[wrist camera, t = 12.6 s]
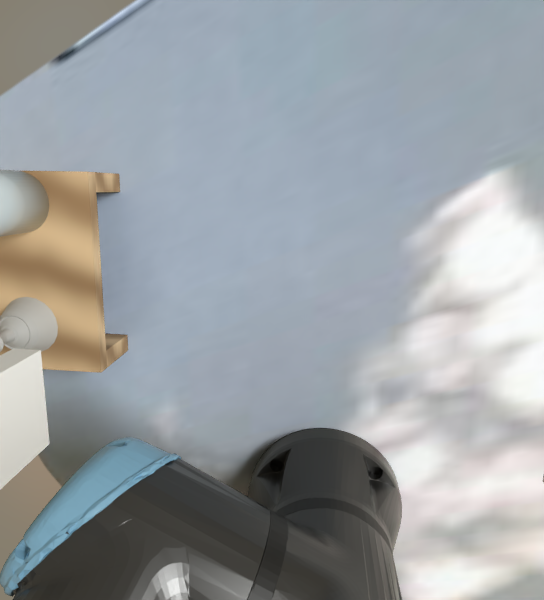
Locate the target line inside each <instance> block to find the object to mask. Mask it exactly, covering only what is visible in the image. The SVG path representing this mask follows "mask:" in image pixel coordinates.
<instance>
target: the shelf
mask: <svg viewBox="0 0 544 600" xmlns="http://www.w3.org/2000/svg"><path fill="white" fill-rule="evenodd" d="M23 172H26V173H29V174H31V175H32V176H34V177H35V178H36V179H38V180H39V181H40V183H41V184H42V185H43V187H44V188H45V190H46V192H47V195H48V199H49V212H48V216H47V218H46V220H45V222H44V223H43V225H42V226H40V227H39V228H38V229H36V230H35V231H32V232H28V233H22V234H15V235H8V236H2V237H0V316H1V315H2V313H3V312H4V310H5V309H6V307H7V306H8V305H9V304H10V302H11V301H13V300H15V299H17V298H21V297H31V298H35V299H38V300H39V301H41V302H43V303H45V304H46V305H47V306H48V307H49V308H50V309H51V311H52V312H53V314H54V316H55V318H56V321H57V325H58V332H57V337H56V339H55V342H54V343H53V344H52V345H51V347H50V348H49V349H46V350H44V351H42V352H41V358H42V368H43V369H51V370H68V371H84V372H102V371H104V370H105V369H106V368H107V367H108V366H110V365H111V364H112V363H113V362H114V361H116V360H117V359H118V358H119V357H121V356H122V355H123V354H124V353H125V352H127V351H128V339H127V335H120V334H105V325H104V309H103V293H102V277H101V260H100V244H99V228H98V212H97V196H96V192H120V182H119V174H112V173H97V172H66V171H23ZM10 350H11V349H9V348H7V347H6V346H5V345H4V347H3V349H2V351H1V352H0V355H2V354H4V353H6V352H8V351H10Z"/></svg>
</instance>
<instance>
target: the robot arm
mask: <svg viewBox="0 0 544 600" xmlns="http://www.w3.org/2000/svg"><path fill="white" fill-rule="evenodd" d="M49 444H50V442H49V432H48V421H47V411H46V400H45V389H44V379H43V368H42V358H41V350H32V349H12V350H10V351H8V352H6V353H4V354H2V355H0V490H1V489H2V488H3V487H4V486H5V485H6V484H7V483H8V482H9V481H10V480H11V479H12V478H13V477H14V476H15V475H17V474H18V473H19V472H20V471H21V470H22V469H23V468H24V467H25V466H26V465H27V464H28V463H30V462H31V461H32V460H33V459H34V458H35V457H36V456H37V455H38V454H39V453H40V452H41V451H42V450H44V449H45V448H46V447H47V446H48V445H49ZM543 482H544V476H543ZM401 518H402V502H401V496H400V492H399V488H398V483H397V480H396V477H395V474H394V472H393V470H392V468H391V466H390V465H389V463H388V462H387V460H386V459H385V458H384V456H383V455H382V454H381V453H380V452H379V451H378V450H377V449H376V448H375V447H373V446H372V445H371V444H369V443H368V442H366V441H365V440H363V439H361V438H359V437H357V436H355V435H353V434H350V433H347V432H344V431H340V430H334V429H324V428H318V429H308V430H303V431H299V432H296V433H293V434H290V435H288V436H286V437H284V438H282V439H280V440H279V441H277V442H276V443H274V444H273V445H272V446H271V447H270V448H269V449H268V450H267V451H266V452H265V453H264V454H263V455H262V457H261V458H260V460H259V461H258V463H257V465H256V467H255V469H254V472H253V475H252V479H251V483H250V487H249V491H248V496H246V495H244V494H242V493H240V492H239V491H237V490H235V489H233V488H231V487H229V486H228V485H226V484H224V483H222V482H220V481H218V480H217V479H215V478H213V477H211V476H209V475H208V474H206V473H204V472H202V471H200V470H198V469H197V468H195V467H193V466H191V465H190V464H188V463H186V462H184V461H183V460H181V457H180V456H179V455H177V454H169V453H167V452H165V451H163V450H161V449H159V448H157V447H155V446H152V445H150V444H148V443H146V442H144V441H142V440H140V439H137V438H132V437H126V438H120V439H117V440H115V441H113V442H111V443H109V444H107V445H106V446H104V447H103V448H102V449H100V450H99V451H98V452H97V453H95V454H94V455H93V456H92V457H91V458H90V459H89V460H88V461H87V462H86V463H84V464H83V465H82V466H81V467H80V468H79V469H78V470H77V472H76V473H75V474H74V475H73V476H72V477H71V478H70V479H69V480H68V481H67V482H66V483H65V484H64V485H63V487H62V488H61V489H60V490H59V491H58V492H57V493H56V495H55V496H54V497H53V498H52V499H51V501H50V502H49V503H48V504H47V505H46V506H45V508H44V509H43V510H42V512H41V513H40V514H39V515H38V516H37V518H36V519H35V520H34V522H33V523H32V524H31V526H30V527H29V528H28V530H27V531H26V532H25V534H24V539H22V540H21V541H20V543H19V544H18V545H17V547H16V548H15V549H14V551H13V552H12V553H11V554H10V556H9V557H8V559H7V561H6V562H5V564H4V566H3V569H2V571H1V573H0V584H1V585H2V587H3V588H4V591H5V593H6V594H7V595H10V596H13V595H14V594H15V596H14V599H13V600H402V597H401V592H400V587H399V582H398V578H397V573H396V568H395V563H394V559H393V550H394V546H395V543H396V539H397V535H398V532H399V528H400V524H401Z"/></svg>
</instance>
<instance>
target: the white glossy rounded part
mask: <svg viewBox="0 0 544 600" xmlns="http://www.w3.org/2000/svg"><path fill="white" fill-rule="evenodd" d="M48 212H49V199H48V195H47V192H46V190H45V188H44V187H43V185H42V184H41V183H40V181H39V180H38V179H36V178H35V177H34V176H32V175H31V174H29V173H26V172H23V171H14V170H0V237H2V236H8V235H15V234H22V233H28V232H32V231H35V230H36V229H38V228H39V227H40V226H42V225H43V223H44V222H45V220H46V218H47V216H48Z"/></svg>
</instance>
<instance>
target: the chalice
mask: <svg viewBox="0 0 544 600" xmlns="http://www.w3.org/2000/svg"><path fill="white" fill-rule="evenodd" d="M57 332H58V325H57V321H56V318H55V316H54V314H53V312H52V311H51V309H50V308H49V307H48V306H47V305H46V304H45V303H43V302H41V301H39V300H38V299H35V298H31V297H21V298H17V299H15V300H13V301H11V302H10V304H9V305H8V306H7V307H6V309H5V310H4V312H3V313H2V315H1V316H0V352H1V351H2V349H3V347H4V345H5V346H6V347H7V348H9V349H11V350H12V349H32V350H41V352H42V351H44V350H46V349H49V348H50V347H51V345H52V344H53V343H54V342H55V339H56V337H57Z"/></svg>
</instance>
